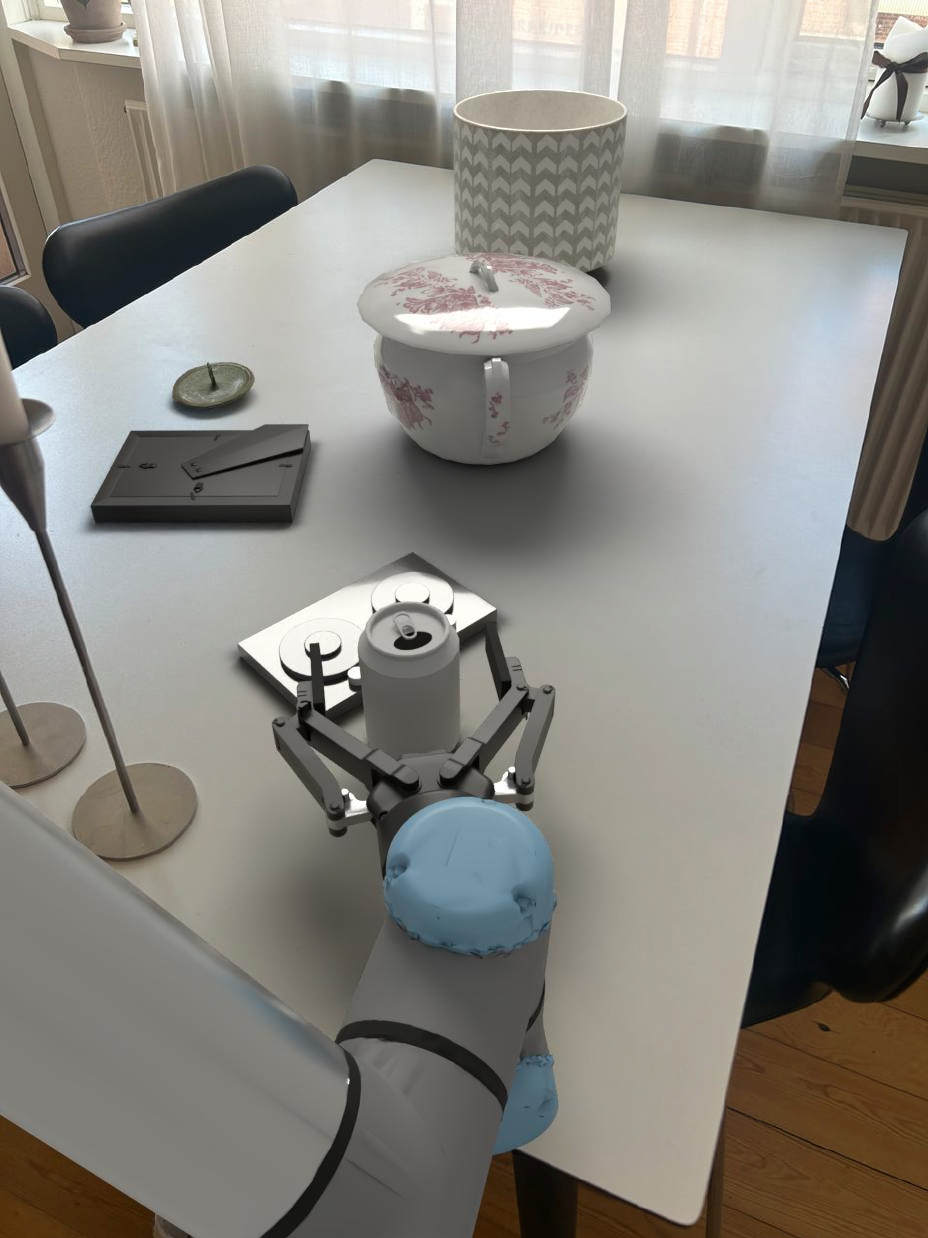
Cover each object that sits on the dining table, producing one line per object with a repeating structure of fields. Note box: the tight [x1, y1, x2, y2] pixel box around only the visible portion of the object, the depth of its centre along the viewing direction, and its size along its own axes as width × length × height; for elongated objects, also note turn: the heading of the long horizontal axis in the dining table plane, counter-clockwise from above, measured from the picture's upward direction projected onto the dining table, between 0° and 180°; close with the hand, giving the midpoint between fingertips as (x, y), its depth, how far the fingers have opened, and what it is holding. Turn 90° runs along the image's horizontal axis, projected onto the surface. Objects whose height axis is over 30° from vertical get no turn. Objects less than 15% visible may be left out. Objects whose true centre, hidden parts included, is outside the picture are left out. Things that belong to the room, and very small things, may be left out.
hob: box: [236, 551, 498, 722], centre depth 86 cm, size 12×20×2 cm, turn 132°
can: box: [357, 601, 461, 760], centre depth 74 cm, size 8×8×12 cm
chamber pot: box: [356, 253, 612, 466], centre depth 108 cm, size 28×28×21 cm
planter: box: [452, 88, 628, 273], centre depth 146 cm, size 25×25×24 cm
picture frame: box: [89, 423, 312, 523], centre depth 106 cm, size 16×3×21 cm
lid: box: [171, 361, 255, 409], centre depth 122 cm, size 11×10×5 cm
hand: (403, 645), depth 75 cm, fingers open, 13 cm apart
